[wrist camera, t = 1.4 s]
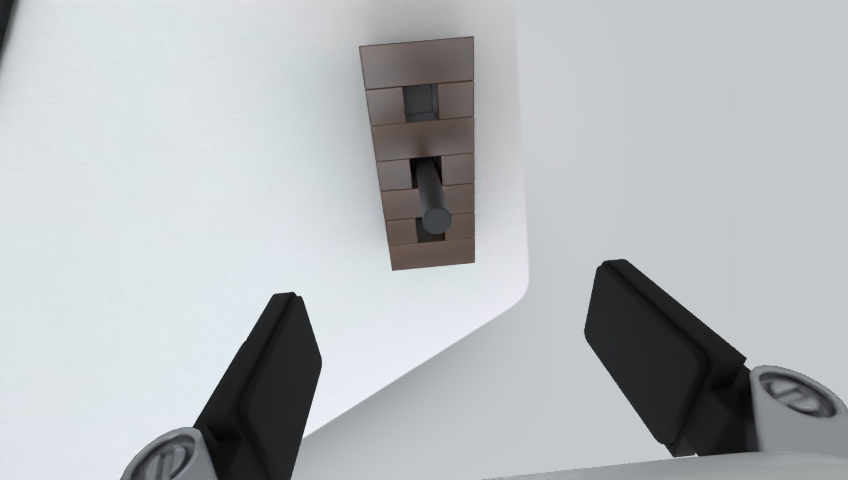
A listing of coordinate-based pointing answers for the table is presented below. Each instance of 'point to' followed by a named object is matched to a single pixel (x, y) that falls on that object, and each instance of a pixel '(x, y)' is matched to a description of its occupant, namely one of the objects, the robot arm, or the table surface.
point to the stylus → (432, 197)
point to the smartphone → (4, 17)
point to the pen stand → (423, 145)
